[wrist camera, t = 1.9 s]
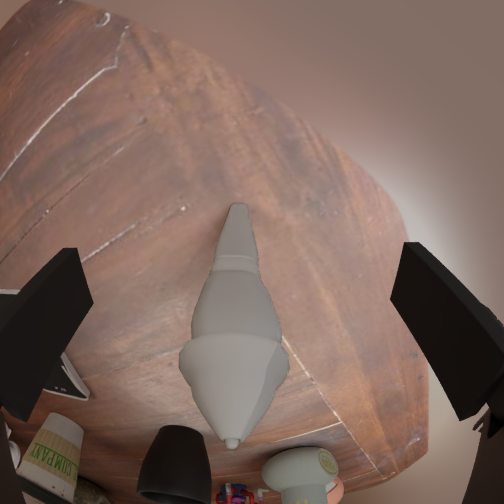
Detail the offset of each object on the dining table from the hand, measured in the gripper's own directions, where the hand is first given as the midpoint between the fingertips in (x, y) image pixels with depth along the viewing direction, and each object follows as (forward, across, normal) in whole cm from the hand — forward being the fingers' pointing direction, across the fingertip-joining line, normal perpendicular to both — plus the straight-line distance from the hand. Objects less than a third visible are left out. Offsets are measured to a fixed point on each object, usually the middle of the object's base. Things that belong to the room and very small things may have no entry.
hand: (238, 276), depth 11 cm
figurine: (+8, -2, -51) cm, 51 cm away
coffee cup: (+8, -28, -32) cm, 43 cm away
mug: (+8, -8, -30) cm, 32 cm away
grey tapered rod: (+7, 0, 0) cm, 7 cm away
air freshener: (+8, +7, -35) cm, 36 cm away
